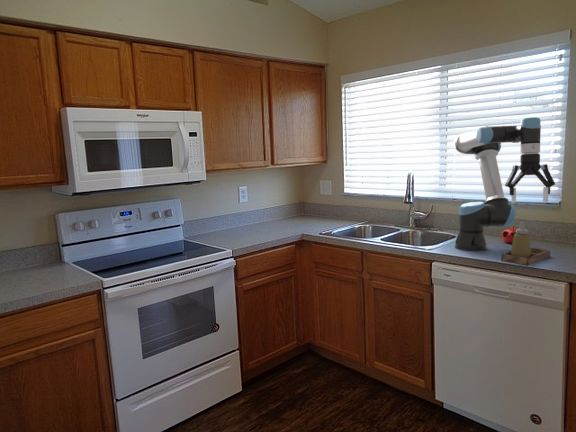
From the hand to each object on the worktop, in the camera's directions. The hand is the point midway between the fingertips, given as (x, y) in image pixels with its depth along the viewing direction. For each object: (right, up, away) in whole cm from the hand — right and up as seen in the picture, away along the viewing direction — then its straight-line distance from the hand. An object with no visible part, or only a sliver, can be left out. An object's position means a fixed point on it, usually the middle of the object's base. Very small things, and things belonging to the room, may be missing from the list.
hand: (529, 202), depth 194 cm
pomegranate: (+14, -21, +43) cm, 50 cm away
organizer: (+4, -26, +10) cm, 28 cm away
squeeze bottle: (-1, -27, +7) cm, 27 cm away
